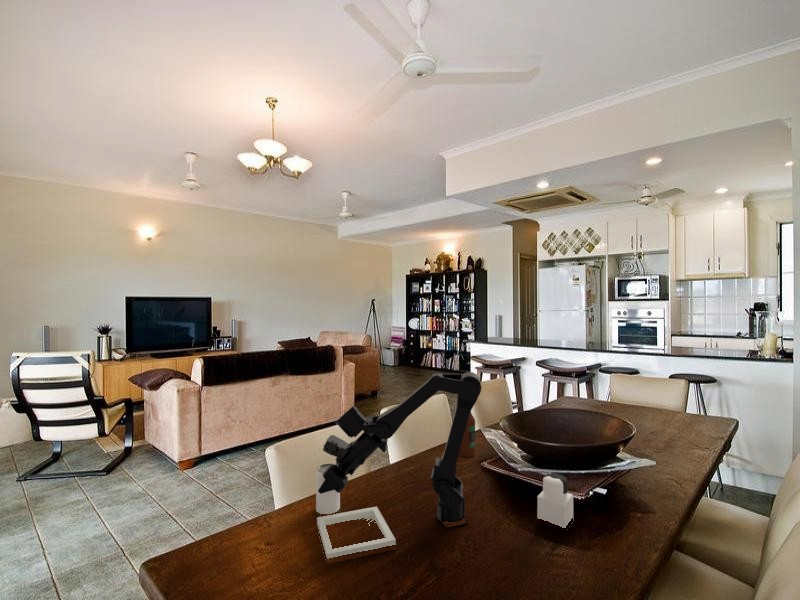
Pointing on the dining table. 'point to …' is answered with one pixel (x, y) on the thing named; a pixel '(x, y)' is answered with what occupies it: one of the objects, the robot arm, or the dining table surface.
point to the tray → (365, 546)
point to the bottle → (468, 439)
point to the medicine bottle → (555, 501)
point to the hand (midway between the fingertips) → (323, 486)
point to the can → (326, 494)
